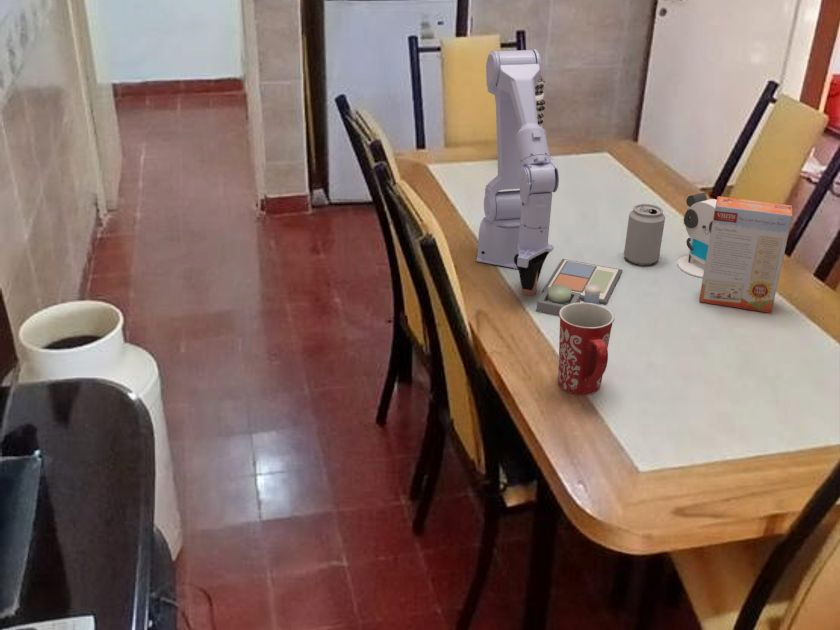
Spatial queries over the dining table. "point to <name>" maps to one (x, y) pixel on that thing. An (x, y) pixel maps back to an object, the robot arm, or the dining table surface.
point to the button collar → (554, 307)
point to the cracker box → (745, 253)
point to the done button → (559, 294)
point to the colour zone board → (585, 278)
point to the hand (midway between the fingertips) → (529, 285)
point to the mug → (583, 346)
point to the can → (644, 234)
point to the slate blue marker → (592, 294)
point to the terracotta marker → (530, 292)
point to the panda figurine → (697, 233)
